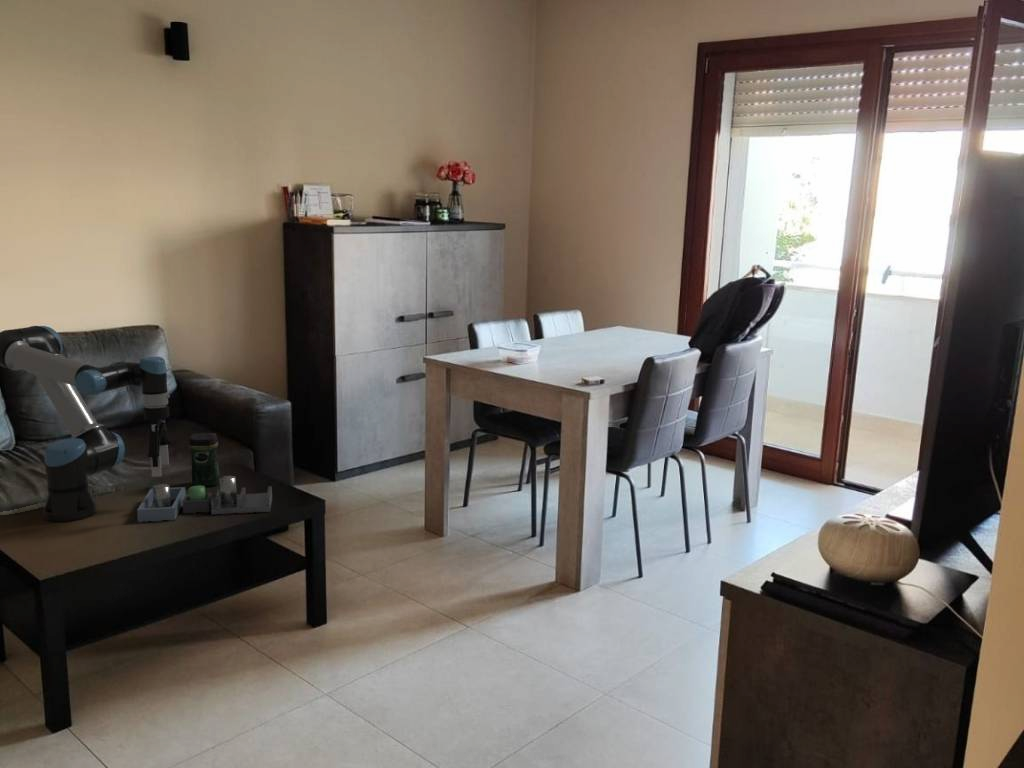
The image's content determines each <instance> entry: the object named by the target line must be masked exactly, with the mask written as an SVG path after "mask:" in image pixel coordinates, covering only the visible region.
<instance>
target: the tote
mask: <svg viewBox="0 0 1024 768" xmlns="http://www.w3.org/2000/svg"><path fill="white" fill-rule="evenodd" d="M186 494H187V493H186V487H185V486H184V487H183V486H181V487H170V500H171V501H173V500H172V499H176V500H174V502H173V504H171V507H165V508H154V507H152V505H153V504H154V502H153V501H154V495H153V488H150V489H149V490H148V492H147V494H146V495H145V497H144V498H143V500H142V501H141V503H140V505H139V506H138V508H137V509H136V512H137V513H136V514H137V515H136V516H137V523H148V522H147V521H152V522H163V521H162V520H169V521H175V519H177V518H176V517H178V516H177V515H179V513H180V511H181V509H182V508H183V500H184V498H185V496H186ZM152 503H153V504H152ZM150 506H151V507H150ZM143 521H145V522H143Z"/></svg>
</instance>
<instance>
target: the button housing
mask: <svg viewBox="0 0 1024 768" xmlns="http://www.w3.org/2000/svg"><path fill="white" fill-rule="evenodd" d="M205 497H206V500H189V493H186V496H185V498H184V500H183V505H182V514H183V513H186V514H194V513H193V512H204V513H210V512H211V499H212V497H213V493H212V492H205Z"/></svg>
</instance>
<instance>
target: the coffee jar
mask: <svg viewBox="0 0 1024 768" xmlns="http://www.w3.org/2000/svg"><path fill="white" fill-rule="evenodd" d="M218 441H219V440H218V435H217V433H215V432H212V433H210V432H209V433H208V432H203V433H199V432H198V433H193V434H191V435H190V436H189V439H188V448H189V451H190V455H191V472H190V473H191V475H190V476H191V477H190V480H191V481H190V482H191V485H192V486H205V487H212V486H215V485H220V478H221V474H220V468H219V462H218V455H217V453H218V452H217V450H218V446H219V442H218Z"/></svg>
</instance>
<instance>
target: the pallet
mask: <svg viewBox="0 0 1024 768" xmlns="http://www.w3.org/2000/svg"><path fill="white" fill-rule="evenodd" d="M246 492H247V491H246V487H241V490H240V493H239V494H237V502H235V503H231V504H223V503H221V494H220V488H215V490H214V492H213V494H212V499H211V509H210V512H211V516H218V515H217V514H221V515H234V514H233V513H238V514H255V513H254V512H256V513H268V512H269V513H270V512H271V507H272V502H273V488H272V486H271V485H269V486H267V491H266V492H262V493H261V492H260V493H259V492H258V493H246ZM230 513H231V514H230ZM214 514H215V515H214Z"/></svg>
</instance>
